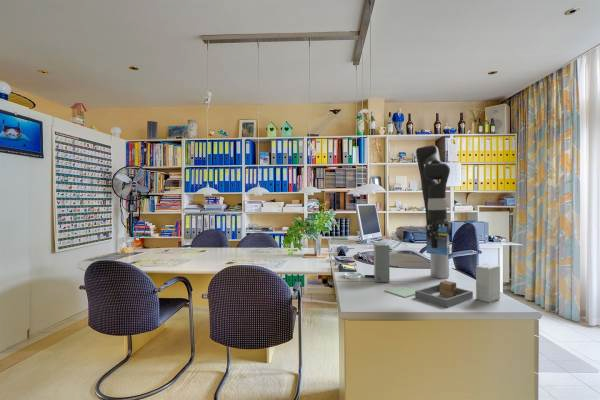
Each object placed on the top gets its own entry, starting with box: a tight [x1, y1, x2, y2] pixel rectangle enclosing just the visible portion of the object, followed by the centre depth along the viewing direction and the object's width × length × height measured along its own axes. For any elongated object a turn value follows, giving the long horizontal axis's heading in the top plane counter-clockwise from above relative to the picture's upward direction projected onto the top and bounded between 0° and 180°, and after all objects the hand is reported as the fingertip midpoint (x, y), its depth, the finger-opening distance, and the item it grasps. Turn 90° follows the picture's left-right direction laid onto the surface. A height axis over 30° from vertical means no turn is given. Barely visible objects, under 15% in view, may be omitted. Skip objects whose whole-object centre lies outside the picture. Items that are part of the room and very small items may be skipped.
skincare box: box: [475, 263, 501, 303], centre depth 129 cm, size 8×6×15 cm
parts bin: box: [414, 283, 474, 308], centre depth 131 cm, size 20×15×3 cm
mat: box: [383, 285, 417, 298], centre depth 140 cm, size 12×12×1 cm
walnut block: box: [439, 280, 457, 298], centre depth 135 cm, size 5×5×6 cm
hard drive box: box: [373, 241, 390, 283], centre depth 164 cm, size 16×8×20 cm, turn 168°
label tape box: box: [425, 227, 451, 256], centre depth 129 cm, size 9×4×12 cm, turn 46°
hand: (437, 247), depth 129 cm, fingers closed on label tape box, 4 cm apart
